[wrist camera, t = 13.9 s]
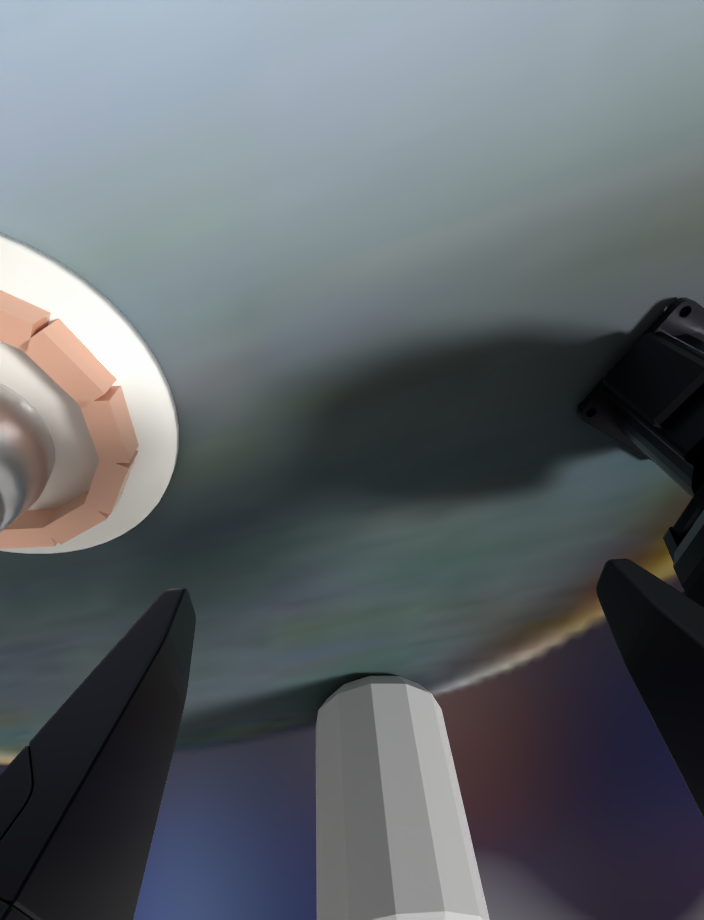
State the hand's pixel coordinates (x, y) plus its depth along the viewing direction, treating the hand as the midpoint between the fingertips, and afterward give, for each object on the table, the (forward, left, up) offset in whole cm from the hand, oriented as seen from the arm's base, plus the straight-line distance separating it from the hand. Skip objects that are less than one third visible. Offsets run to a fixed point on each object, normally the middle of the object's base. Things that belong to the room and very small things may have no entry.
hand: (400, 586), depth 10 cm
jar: (-16, +24, -13) cm, 32 cm away
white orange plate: (+13, +10, -13) cm, 21 cm away
